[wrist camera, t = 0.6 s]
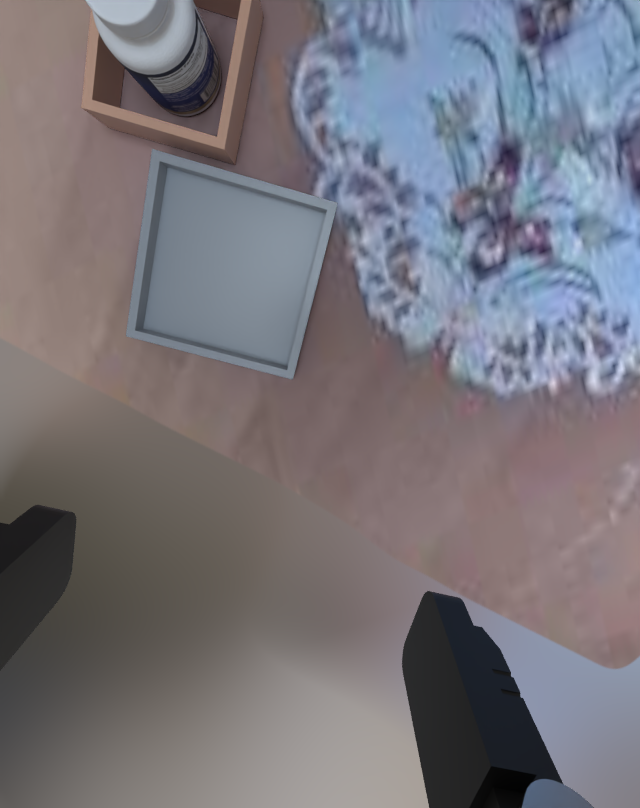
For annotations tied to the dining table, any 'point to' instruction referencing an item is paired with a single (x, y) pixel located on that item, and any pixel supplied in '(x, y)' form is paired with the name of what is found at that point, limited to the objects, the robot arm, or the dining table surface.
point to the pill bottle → (162, 50)
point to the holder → (105, 107)
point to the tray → (227, 265)
